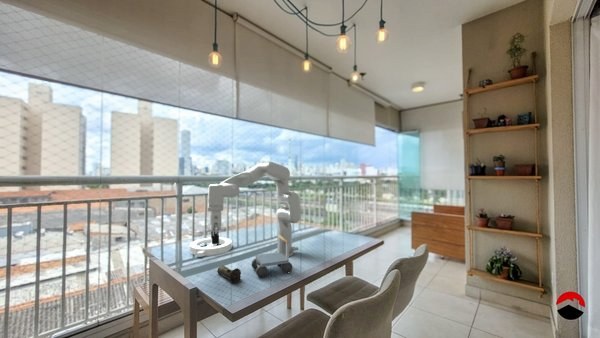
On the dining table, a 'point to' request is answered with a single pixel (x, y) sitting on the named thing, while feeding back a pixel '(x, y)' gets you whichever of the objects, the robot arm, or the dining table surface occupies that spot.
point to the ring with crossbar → (210, 247)
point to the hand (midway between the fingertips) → (214, 241)
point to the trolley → (272, 261)
